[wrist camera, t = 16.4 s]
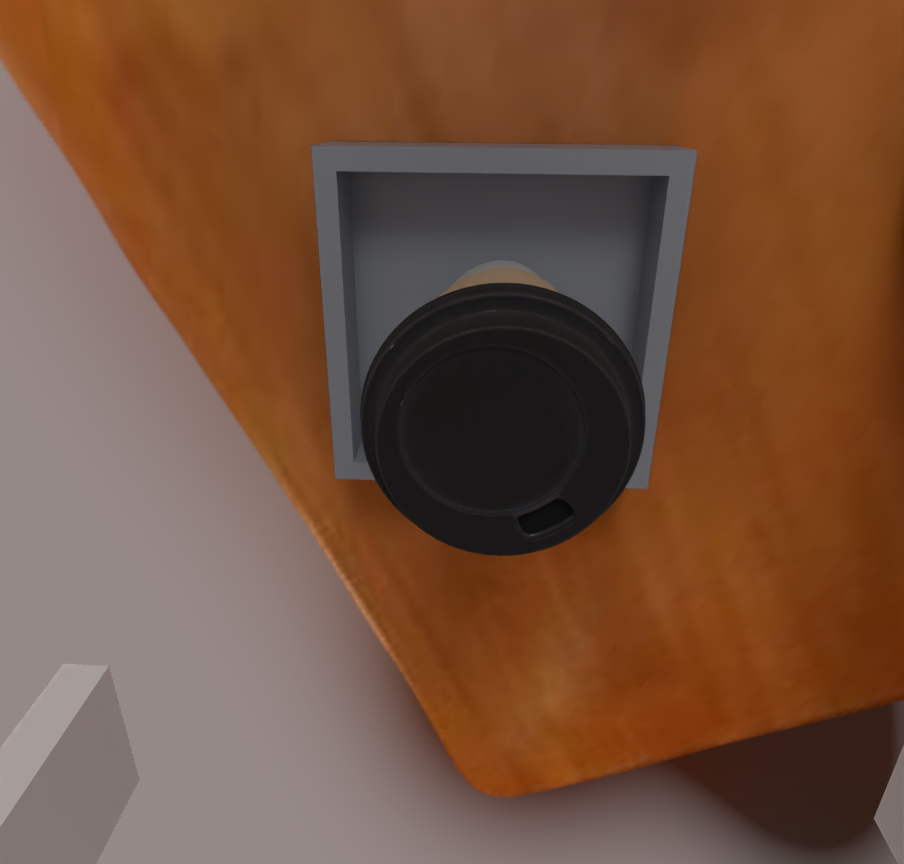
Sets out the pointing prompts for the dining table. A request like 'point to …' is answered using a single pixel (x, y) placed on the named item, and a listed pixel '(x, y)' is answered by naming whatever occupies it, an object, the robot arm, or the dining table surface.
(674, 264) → the tray
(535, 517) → the coffee cup
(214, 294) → the dining table surface
